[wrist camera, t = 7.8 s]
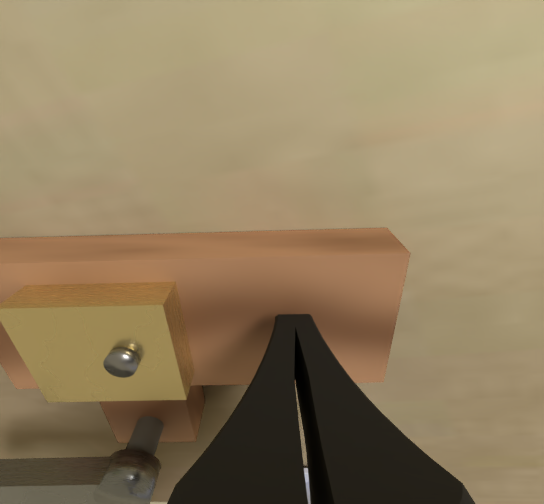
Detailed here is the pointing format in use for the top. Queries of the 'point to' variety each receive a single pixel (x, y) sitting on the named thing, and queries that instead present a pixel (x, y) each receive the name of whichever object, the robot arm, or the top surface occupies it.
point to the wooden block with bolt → (102, 340)
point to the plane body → (226, 303)
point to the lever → (80, 479)
